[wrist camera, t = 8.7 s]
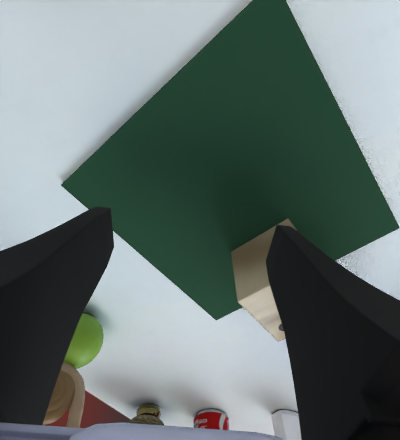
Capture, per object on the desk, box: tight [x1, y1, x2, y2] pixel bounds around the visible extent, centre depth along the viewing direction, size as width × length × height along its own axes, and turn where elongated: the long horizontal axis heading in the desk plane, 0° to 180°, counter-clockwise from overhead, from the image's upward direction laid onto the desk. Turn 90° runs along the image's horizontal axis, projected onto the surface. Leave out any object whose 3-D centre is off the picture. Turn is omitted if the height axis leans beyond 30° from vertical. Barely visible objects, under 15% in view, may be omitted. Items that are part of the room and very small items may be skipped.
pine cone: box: [129, 404, 165, 426], centre depth 37 cm, size 8×7×8 cm
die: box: [231, 219, 296, 341], centre depth 22 cm, size 6×6×6 cm
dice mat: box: [61, 0, 399, 320], centre depth 22 cm, size 21×20×1 cm
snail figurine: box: [43, 313, 103, 428], centre depth 25 cm, size 5×6×12 cm
